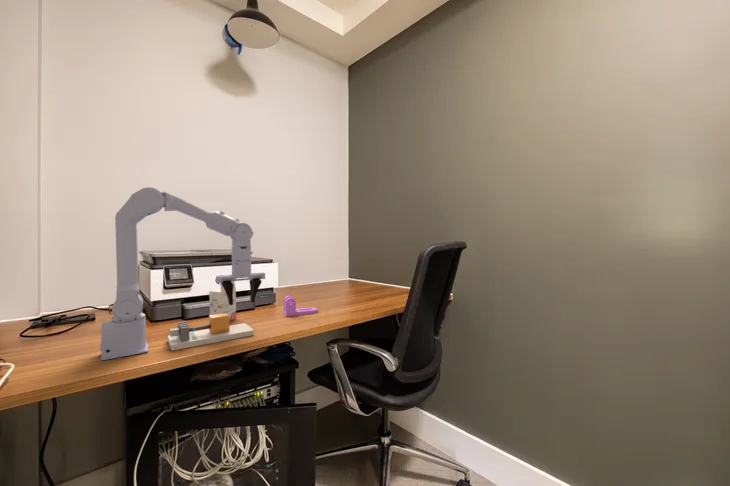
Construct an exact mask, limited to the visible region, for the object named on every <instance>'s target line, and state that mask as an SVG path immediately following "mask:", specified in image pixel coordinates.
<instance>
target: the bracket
mask: <svg viewBox="0 0 730 486" xmlns="http://www.w3.org/2000/svg"><path fill="white" fill-rule="evenodd" d="M296 306H297V303H296V300H295V298H293V296H291V295H286V296H285V297H284V299H283V313H284V315H285V316H286V317H291V316H302V315H313V314H317V313H318V311H319V310H318V308H317V307H302V308H296Z"/></svg>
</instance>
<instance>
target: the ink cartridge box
mask: <svg viewBox="0 0 730 486" xmlns="http://www.w3.org/2000/svg"><path fill="white" fill-rule="evenodd" d="M231 282H232V284H233V305H229V301H228V297H227V294H226V292H225V290H224V288H223V286H222V284H221V283H220V284H219V285H220V288H217V289H214V290H213V289H212V290H210V291H208V292H209V293H208V294H209V295H208V297H209V315H216V314H223V313H227V314H228V315H229V322H231V321H233V320H236V319H237V301H236V299H237V298H236V297H237V295H236V292H237V291H236V281H231Z"/></svg>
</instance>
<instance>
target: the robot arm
mask: <svg viewBox="0 0 730 486" xmlns="http://www.w3.org/2000/svg"><path fill="white" fill-rule="evenodd" d="M163 208H164V212H178V213H181V214H183V215H186V216H188V217H192V218H194V219H196V220H199V221H201V222H204V223H205V226H206V227H207V229H209V230H212V231H214V232H216V233H219V234H221V235H223V236H225V237H230V238H231V273H230V274H224V275H216V277H215V279H216V283H217V284H219V283H221V284H222V286H223V288H224V290H225V292H226V294H227V297H228V301H229V305H233V284H232V282H231V281H235V282H240V281H248V282H249V290H250V293H249V294H250V295H249V297H250V303H255V301H256V296H257V293H258V290H259V288H260V286H261V284H262V280H265V279H266V273H265V272H252V245H251V244H252V243H251V239H252V238H253V235H254V231H253V229H252V227H251V226H250V225H249V224H248V223H245V222H242V223H241V222H240V219H238V218H235V219H234V218H233V217H230V216H229V215H227V214H225V212H224V211H222V210H220V211H217V210H214V211H211V212H209V211H207V210H205V209H203V208H200V207H199V206H197V205H195V204H193V203H190V202H189V201H186V200H184V199H183V198H181V197H178V196H176V195H173V194H171V193H168V192H166V191H162V192H161V191H160V190H159V189H157V188H154V187H150V186H149V187H143V188H141V189H139V190H137V191H135V192H133V193H132V194H131V195H130V196H129V198H128V199H127V200H126V202H125V203H124V204H123V205H122V207H121V208H119V209H118V211H117V212H116V214H115V217H114V218H115V220H114V221H115V222H114V223H115V253H116V254H115V255H116V258H115V259H116V291H115V292H116V295H115V296H116V297H115V301H114V303H113V304H112V307H111V313H112V315H113V316H112V317H111V320H108V321H102V322H101V325H100V327H101V328H100V332H101V333H100V340H101V341H100V342H101V344H100V345H99V346H100V347H99V350H100V352H101V359H100V360H101V361H106V360H111V359H116V358H118V359H119V358H122V357H127V356H134V355H138V354H139V355H140V354H145V353H148V352H149V345H148V342H147V335H146V333H147V330H146V328H147V327H146V326H147V325H146V322H147V321H146V314H145V313H143V310H144V298H143V295H142V294H141V292H140V285H139V283H140V282H139V259H138V258H139V256H138V255H139V254H138V253H139V252H138V223H140V222H142V221H143V220H144V219H145V218H146V217H148V216H151V215H154V214H156V213H159V212H160V211H161V210H162V209H163Z"/></svg>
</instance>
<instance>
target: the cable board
mask: <svg viewBox="0 0 730 486" xmlns="http://www.w3.org/2000/svg"><path fill="white" fill-rule="evenodd" d="M229 326H230V331H225V332H220V333H214V334H211V332H210V331H209V328H211V325H209V324H207V325H201V326H196V327H195V326H192V327H190V326H189V324H188V322H187V321H186V320H185V321H179V322H177V327H175V328H170V329H169V335H167V343H168V345H169V349H170V351H171V352H172V351H177V350H183V349H187V348H192V347H193V348H194V347H197V346H203V345H208V344H213V343H214V344H215V343H218V342H225V341H229V340H235V339H240V338H247V337H250V336H255V329H253V328H252V327H251V326H249V324H247V323H244V322H243V323H237V324H232V325H230V324H229Z"/></svg>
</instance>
